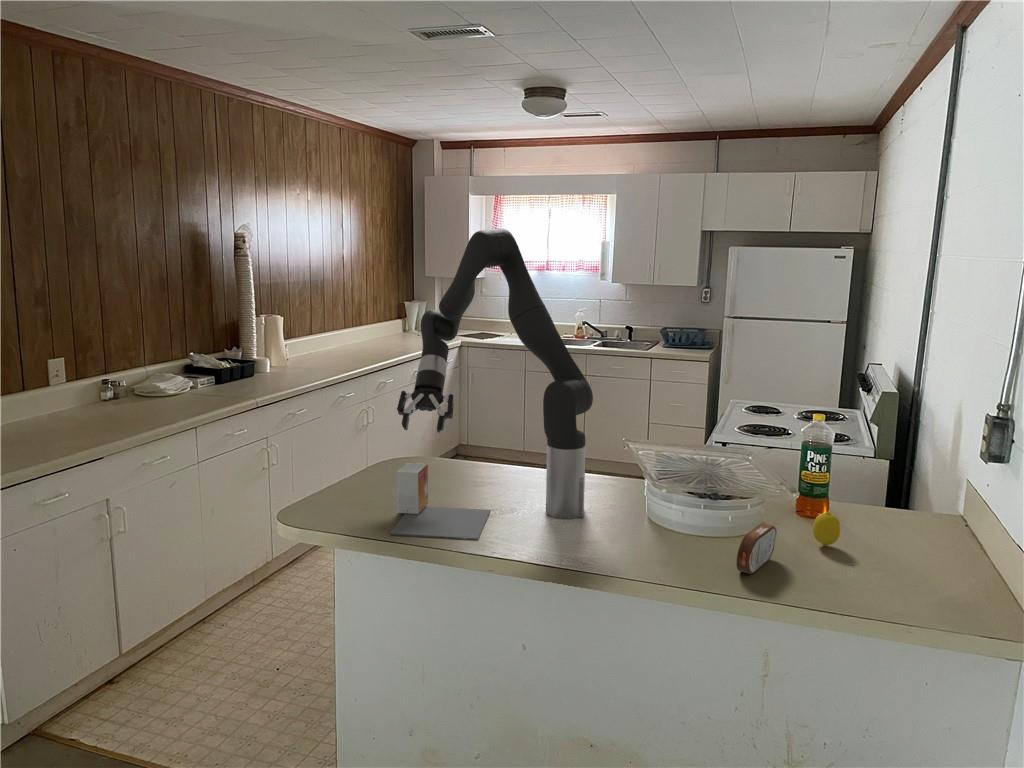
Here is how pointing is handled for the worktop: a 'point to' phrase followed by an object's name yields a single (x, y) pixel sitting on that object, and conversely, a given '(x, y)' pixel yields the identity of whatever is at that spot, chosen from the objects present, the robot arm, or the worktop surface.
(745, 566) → the tin
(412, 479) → the small box
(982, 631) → the worktop surface
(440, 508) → the mat
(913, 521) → the worktop surface
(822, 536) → the lemon
